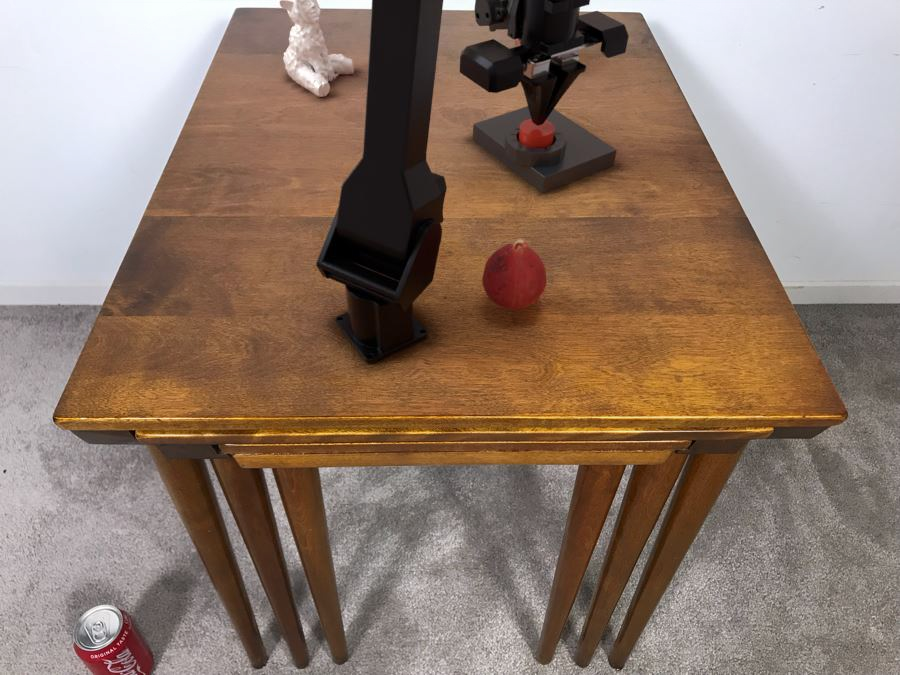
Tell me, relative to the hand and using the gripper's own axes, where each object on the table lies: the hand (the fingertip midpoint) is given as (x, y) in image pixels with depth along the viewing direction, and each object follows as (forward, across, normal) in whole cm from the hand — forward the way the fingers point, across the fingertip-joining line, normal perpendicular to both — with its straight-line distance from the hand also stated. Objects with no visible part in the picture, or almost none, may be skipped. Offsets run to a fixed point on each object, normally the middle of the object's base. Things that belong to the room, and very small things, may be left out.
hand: (537, 123), depth 81 cm
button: (+2, 0, 0) cm, 2 cm away
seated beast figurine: (+6, +12, -34) cm, 37 cm away
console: (+6, -3, -2) cm, 7 cm away
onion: (+6, +17, +18) cm, 25 cm away
